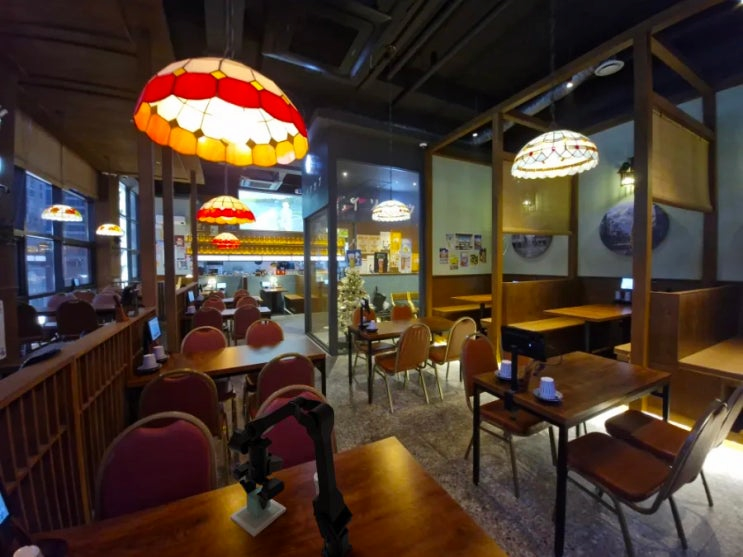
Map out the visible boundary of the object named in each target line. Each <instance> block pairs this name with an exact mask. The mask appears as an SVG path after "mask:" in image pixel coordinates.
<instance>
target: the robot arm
mask: <svg viewBox="0 0 743 557" xmlns="http://www.w3.org/2000/svg"><path fill="white" fill-rule="evenodd" d="M334 410H335V409H334V407H332V406H331V405H330V404H329V403H327V402H322V401H320V400H318V399H311V398H307V397H304V396H302V395H298V396H296V397H294V398H292V399H291V400H288V402H287V403H285V404H284V405H282V406H280V407H278V408H277V409H275V410H273V411H271V412H266V413H263V414H261V415H258V416H256V417H255V418H253V419H251V420H250V421H248V422H246V423H245V424H244V429H242V428H236V429H234V430H233V432H232V435H231V436H230V438H229V440H228V443H227V447H228V449H229V450H230V451H231V452H232V451H233V452H234V453H238V454H240V455H244V456H245V455H248V456H247V458H248V460H247V461H246V462H244V463H243V464H240V465H239V466H237V467H235V469H234V471H233V472H232V475H233V477H232V478H233V479H234V480H236V481H239V483H238V484H240V486H241V488H242V490H243V491H244V492H245V494H246V495H247V494H249V493H250V492H251V491H253V490H254V489H256V488H257V486H258V487H259V486H262V489H261V491H260V492H258V493H257V497H258V499H259V502H260V505H261V508H262V510H264V509H265V508H266V506H267V503H268V500H271V499H273V500H274V498H275V497H276V496H278V495H279V494H281V493H282V492H283V491H285V488H286V486H285V484H286V483H285V481H283V480H282V479H280V478H278V477H276V476H275V477H273V478H269V477H270V476H271V475H273V472H277V471H278V472H279V471H282V466H283V462H284V459H283V458H281V457H279V456H277V455H274V454H273V453H272V452H271V451H269V450H268V447H270V446H271V445H273V443H274V442H273V440H272V439H270V438H269V437H268V436H266V437H264V435H265V434H267V433H268V432H270V431H271V430H272V429H273V428H274V427H275V426H276V425H277V424H278V423H280V422H282V421H283V420H286V419H287V418H290V417H291V416H292V417H294V418H295V420H296V422H297V423H298V424H299V425H300V426H303V427H305V430H306V433H307V435H308V436H309V438H310V439H311V440H312V441H313V442H312V443H313V449H314V450H313V451H314V458H315V468H316V472H317V477H318V486H319V494H318V495H317V494H316V496H315V497H314V498H313V499H312V504H311V505H312V509H313V514H312V516H313V517H315V522H316V524H317V528H318V531H319V534H320V537H321V538H322V539H323V546H324V547H323V548H322V549H321V550H320V554H321V555H322V556H324V557H347V555H348V554H349V553H350V551H352V549H353V544H351V543H350V542H349V541H350V537H349V536H350V533H349V532H350V529H348V525H349V524H350V523H351V522H352V520H353V516H354V515H353V513H352V511H351V510H350V508H349V507H348V506H347V504H346V502H345V499H344V495H343V493H342V491H341V490H340V488H338V486H337V480H336V471H335V470H336V469H335V462H334V454H333V446H332V433H333V429H334V426H335V411H334ZM304 411H306V412H304ZM262 436H263V437H262ZM268 476H269V477H268Z"/></svg>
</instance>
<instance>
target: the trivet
mask: <svg viewBox="0 0 743 557" xmlns="http://www.w3.org/2000/svg"><path fill="white" fill-rule="evenodd" d="M286 511H287V507H285V506H284V505H282V504H280V503H279V502H277V501H275V500H274V498H273V499H271V500H270V507H269V508H268V509H267V510H265V511H264V512H263V513H262V514H260V515H259V516H258V517H256V516H255V515H253V514H252V513H250V512H249V511H248V510H247V504H245V505H244V506H243V507H241V508H239V509H238V510H237V511H235V512H234V513H233V514H231V515H229V518H230V520H231V521H233V522H234V523H236V524H237V526H239V527H241V528H242V529H243V530H245V531H246V533H248V534H250V535H251V536H252V537H256V536H257V535H259V533H261V531H263V530H264V529H265V528H267V527H268V526H269V525H270V524H272V522H274V521H275V520H277V519H278V518H279V517H280V516H281V515H282V514H284V513H285V512H286Z"/></svg>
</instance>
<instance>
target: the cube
mask: <svg viewBox="0 0 743 557" xmlns="http://www.w3.org/2000/svg"><path fill="white" fill-rule="evenodd" d="M262 486H263V485H260V486H259V485H258V486H256V489H254V490H253V491H251V492H250V493H249V494H246V505H247V510H248V511H249V512H250V513H252V514H253V515H255V516H256V517H258V516H259V515H260V514H262V513H263V512H264V511H265V510H267V509H268V508H269V507H270V500H268V503H267V506H266V508H265V509H264V510H262V508H261V505H260V502H259V499H258V497H257V493H258V492H260V491H261V489H262Z"/></svg>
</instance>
